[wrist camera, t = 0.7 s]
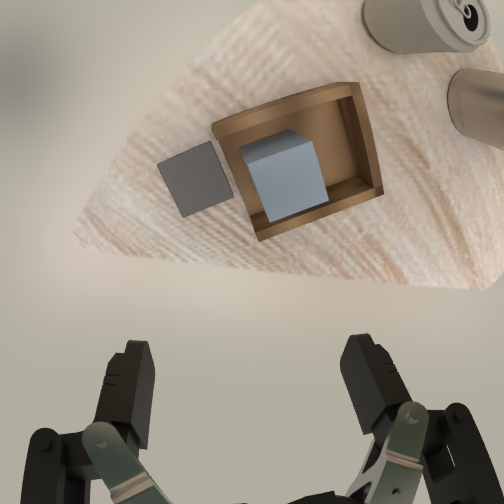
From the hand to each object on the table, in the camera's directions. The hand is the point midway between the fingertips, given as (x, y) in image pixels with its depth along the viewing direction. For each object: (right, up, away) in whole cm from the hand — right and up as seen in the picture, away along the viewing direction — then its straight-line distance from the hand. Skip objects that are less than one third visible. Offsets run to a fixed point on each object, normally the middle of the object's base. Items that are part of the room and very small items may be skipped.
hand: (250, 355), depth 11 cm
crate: (+4, +14, +17) cm, 22 cm away
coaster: (-5, +11, +17) cm, 21 cm away
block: (+2, +13, +17) cm, 21 cm away
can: (+14, +28, +10) cm, 33 cm away
